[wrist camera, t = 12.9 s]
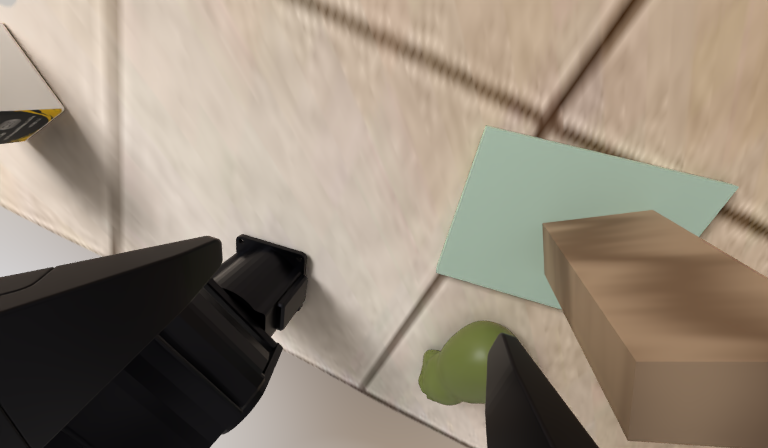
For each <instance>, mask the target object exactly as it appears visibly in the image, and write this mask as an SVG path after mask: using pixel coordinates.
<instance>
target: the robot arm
mask: <svg viewBox="0 0 768 448" xmlns="http://www.w3.org/2000/svg"><path fill="white" fill-rule="evenodd" d="M242 240H243V241H242ZM236 252H237V253H236V254H234V255H233V256H232V257H230V258H229V259H228V260H226V261H225V262H224V263H222V261H223V258H222V243H221V241H220V240H219V239H217V238H214V237H211V236H203V237H198V238H193V239H188V240H183V241H178V242H174V243H169V244H164V245H159V246H154V247H149V248H144V249H139V250H134V251H129V252H124V253H119V254H115V255H110V256H105V257H100V258H95V259H90V260H85V261H80V262H76V263H70V264H66V265H60V266H56V267H55V268H53V267H51V268H46V269H41V270H36V271H31V272H26V273H20V274H15V275H10V276H5V277H0V448H210V447H211V445H212V444H213V443H214V442H215V441H216V440H217V439H218V438H219V436H220V435H221V434H225V433H227V432H229V431H230V430H232V429H233V428H235V427H236V426H237V425H238V424H239V423H240V422H241V421H242V420H243V419H244V418H245V417H246V416H247V415H248V414H249V413H250V411H251V410H252V409H253V408H254V407H255V405H256V404H257V402H258V401H259V400H260V398H261V396H262V395H263V393H264V391H265V389H266V387H267V385H268V382H269V380H270V378H271V375H272V373H273V370H274V368H275V366H276V364H277V361H278V359H279V357H280V354H281V352H282V349H283V347H282V346H281V345H280V344H279V343H276V342H275V341H274V340H273V339H272V338H271V336H272V335H273V334H274V332H275V331H276V329H277V330H280V331H281V330H283V329H284V328H285V327H286V325H287V324H288V323H289V321H290V320H291V318H292V317H293V315H294V314H295V313H296V311H299V310H300V309H301V307H302V303H303V301H304V300H305V297H306V287H307V277H306V276H305V272H306V262H307V256H306V254H304V253H303V252H300V251H297V250H294V249H290V248H287V247H284V246H280V245H277V244H274V243H270V242H267V241H264V240H260V239H257V238H254V237H251V236H247V235H244V234H242V235H240V236H238V237H237V238H236ZM299 257H301V258H302V259H300V258H299ZM485 417H486V433H487V448H599V447H598V446H597V445H596V443H595V442H594V441H593V439H592V438H591V437H590V435H589V434H588V433H587V431H586V430H585V429H584V427H583V426H582V425H581V423H580V422H579V421H578V419H577V418H576V417H575V415H574V414H573V413H572V411H571V410H570V409H569V407H568V406H567V405H566V403H565V402H564V401H563V399H562V398H561V397H560V395H559V394H558V393H557V391H556V390H555V389H554V387H553V386H552V385H551V383H550V382H549V381H548V379H547V378H546V377H545V375H544V374H543V373H542V371H541V370H540V369H539V367H538V366H537V365H536V363H535V362H534V361H533V359H532V358H531V357H530V355H529V354H528V353H527V351H526V350H525V349H524V347H523V346H522V345H521V343H520V342H519V341H518V339H517V338H516V337H514V336H512V335H509V334H506V333H500V334H499V335H498V336H497V338H496V340H495V341H494V343H493V345H492V347H491V348H490V350H489V353H488V357H487V378H486V401H485Z"/></svg>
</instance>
